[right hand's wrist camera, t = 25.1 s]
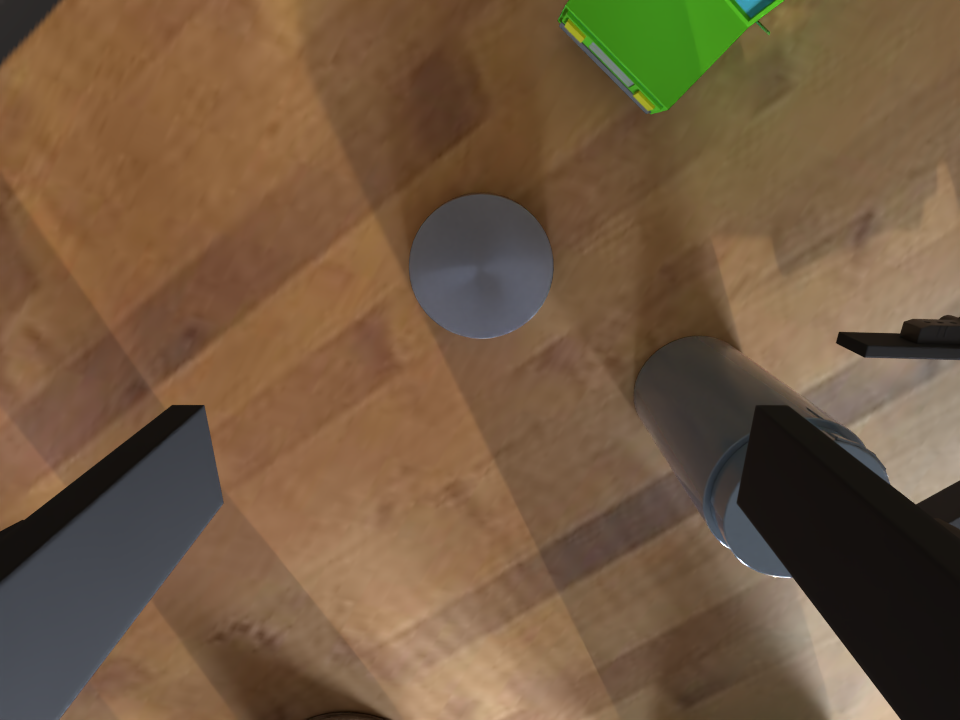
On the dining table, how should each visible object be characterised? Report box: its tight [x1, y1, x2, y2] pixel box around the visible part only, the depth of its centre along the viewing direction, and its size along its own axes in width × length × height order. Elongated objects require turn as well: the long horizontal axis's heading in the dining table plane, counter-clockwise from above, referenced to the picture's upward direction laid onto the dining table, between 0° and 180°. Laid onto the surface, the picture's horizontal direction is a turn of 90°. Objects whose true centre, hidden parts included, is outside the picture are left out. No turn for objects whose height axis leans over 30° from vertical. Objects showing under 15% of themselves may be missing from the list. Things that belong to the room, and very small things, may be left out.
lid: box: [409, 193, 554, 338], centre depth 36 cm, size 10×10×2 cm
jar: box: [634, 336, 890, 578], centre depth 33 cm, size 9×9×15 cm
